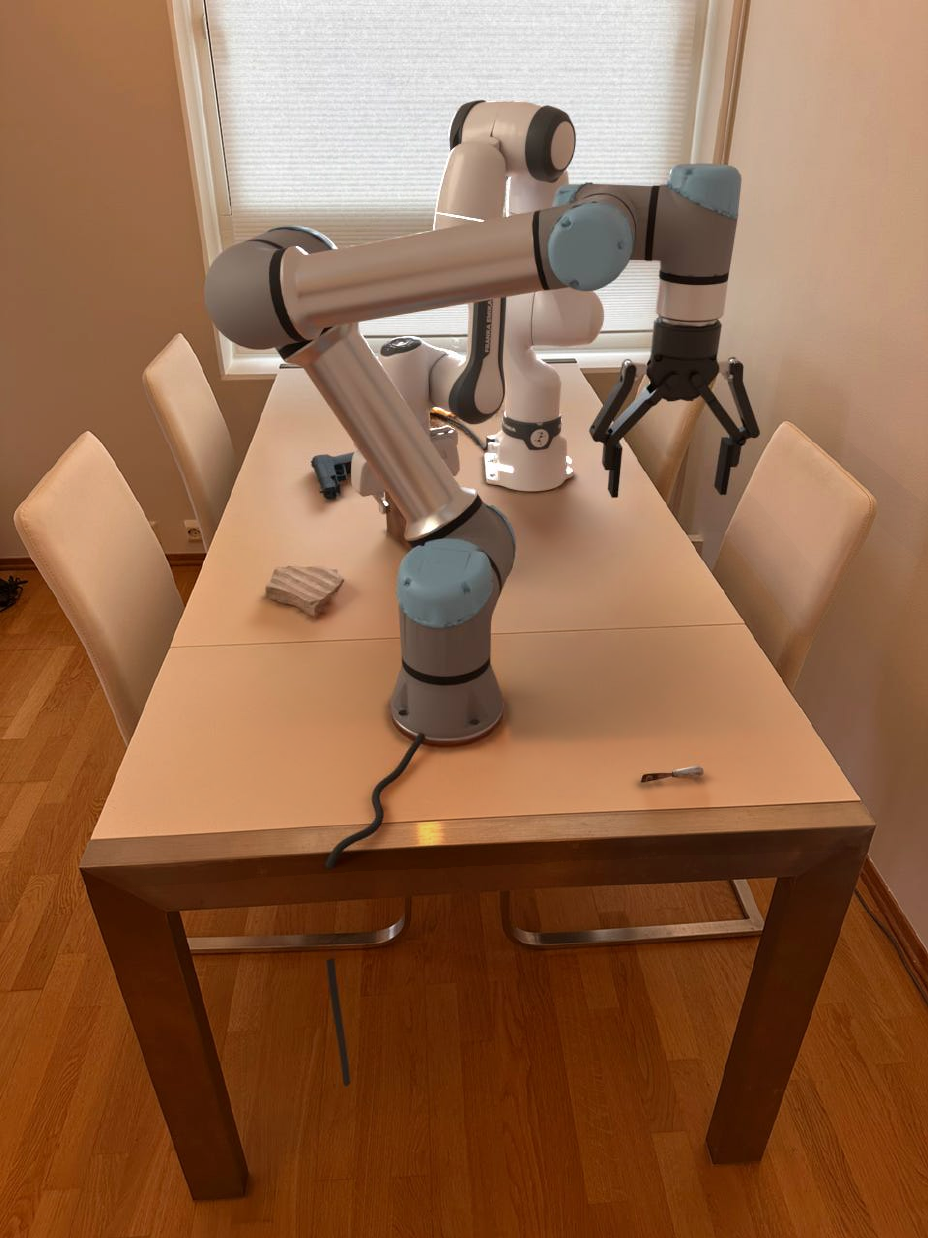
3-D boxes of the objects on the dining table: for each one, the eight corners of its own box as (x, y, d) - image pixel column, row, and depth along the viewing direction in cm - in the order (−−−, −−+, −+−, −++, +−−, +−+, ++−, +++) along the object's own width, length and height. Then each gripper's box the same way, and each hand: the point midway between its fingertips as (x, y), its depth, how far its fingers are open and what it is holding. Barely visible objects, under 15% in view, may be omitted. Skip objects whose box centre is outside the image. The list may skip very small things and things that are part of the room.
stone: (354, 583, 150) (352, 570, 149) (317, 618, 141) (316, 605, 140) (288, 570, 155) (286, 557, 153) (249, 603, 145) (246, 590, 144)
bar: (474, 577, 153) (474, 527, 148) (446, 585, 150) (445, 535, 145) (412, 524, 170) (410, 479, 165) (386, 531, 168) (384, 485, 163)
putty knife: (703, 777, 109) (705, 767, 109) (642, 788, 108) (644, 777, 107) (700, 772, 110) (702, 762, 109) (639, 782, 109) (640, 771, 108)
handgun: (379, 494, 182) (320, 501, 179) (364, 462, 196) (309, 468, 193) (378, 480, 180) (319, 487, 178) (363, 448, 194) (308, 454, 192)
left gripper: (785, 308, 104) (754, 477, 115) (573, 311, 103) (563, 482, 114) (809, 324, 98) (774, 501, 109) (583, 328, 97) (572, 507, 108)
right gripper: (448, 418, 162) (449, 489, 169) (344, 439, 154) (350, 512, 161) (465, 429, 157) (466, 501, 165) (359, 451, 149) (364, 525, 156)
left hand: (666, 492), depth 112 cm, fingers open, 13 cm apart
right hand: (408, 507), depth 163 cm, fingers open, 8 cm apart
